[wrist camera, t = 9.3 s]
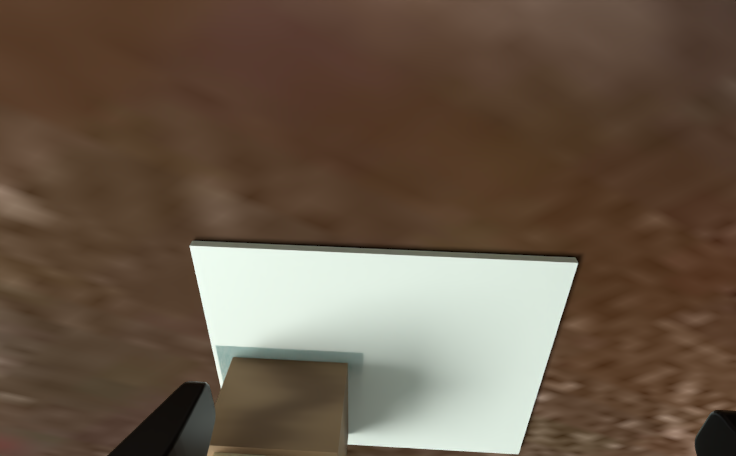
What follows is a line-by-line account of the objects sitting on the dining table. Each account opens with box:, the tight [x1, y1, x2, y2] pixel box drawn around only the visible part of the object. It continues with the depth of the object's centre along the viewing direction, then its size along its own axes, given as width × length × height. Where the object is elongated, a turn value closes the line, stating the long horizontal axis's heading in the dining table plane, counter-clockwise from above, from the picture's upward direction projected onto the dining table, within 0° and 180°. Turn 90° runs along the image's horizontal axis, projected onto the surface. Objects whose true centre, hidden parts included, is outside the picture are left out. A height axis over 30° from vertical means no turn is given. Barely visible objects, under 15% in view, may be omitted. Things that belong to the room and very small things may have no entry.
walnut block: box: [207, 357, 348, 456], centre depth 25 cm, size 6×6×5 cm
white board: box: [190, 241, 578, 454], centre depth 25 cm, size 17×14×1 cm
